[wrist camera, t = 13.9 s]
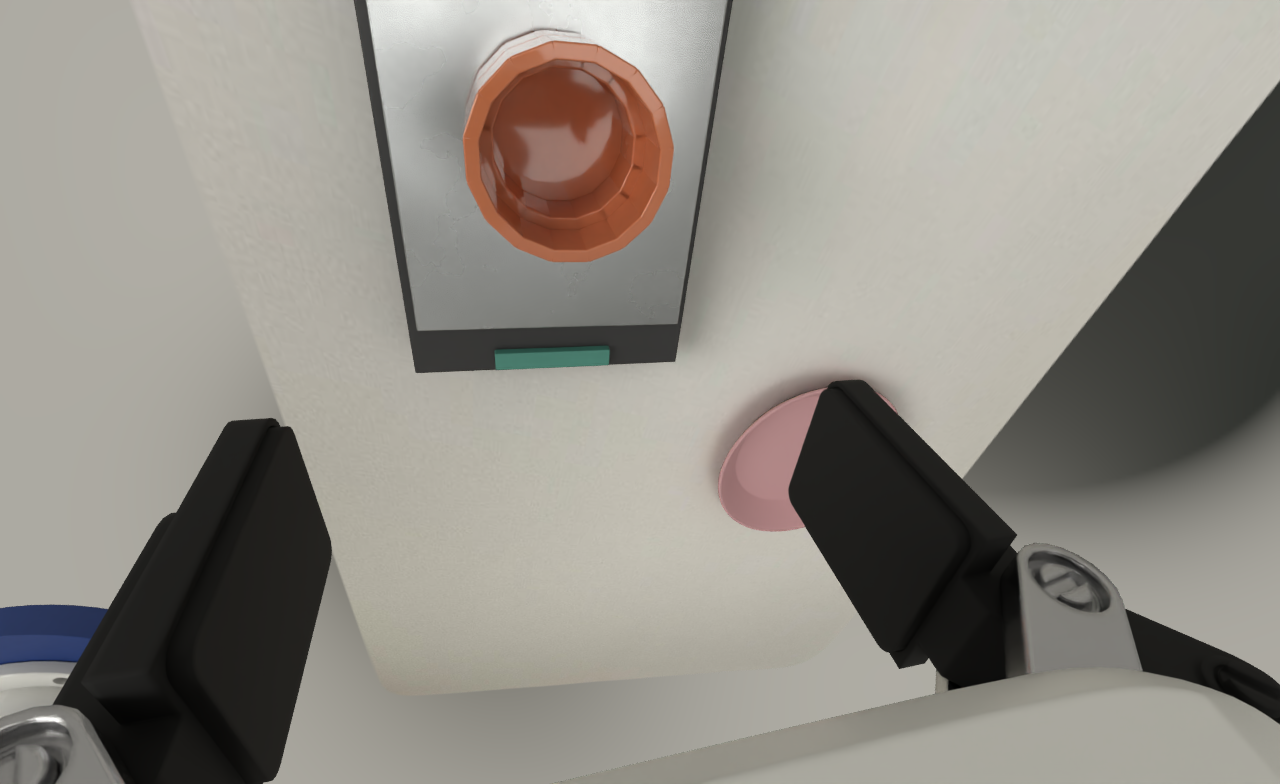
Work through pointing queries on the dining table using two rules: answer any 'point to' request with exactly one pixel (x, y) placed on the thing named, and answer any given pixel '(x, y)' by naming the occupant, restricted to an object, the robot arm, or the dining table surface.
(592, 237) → the bowl
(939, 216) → the dining table surface
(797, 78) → the dining table surface
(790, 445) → the plate
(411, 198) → the scale
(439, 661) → the dining table surface
